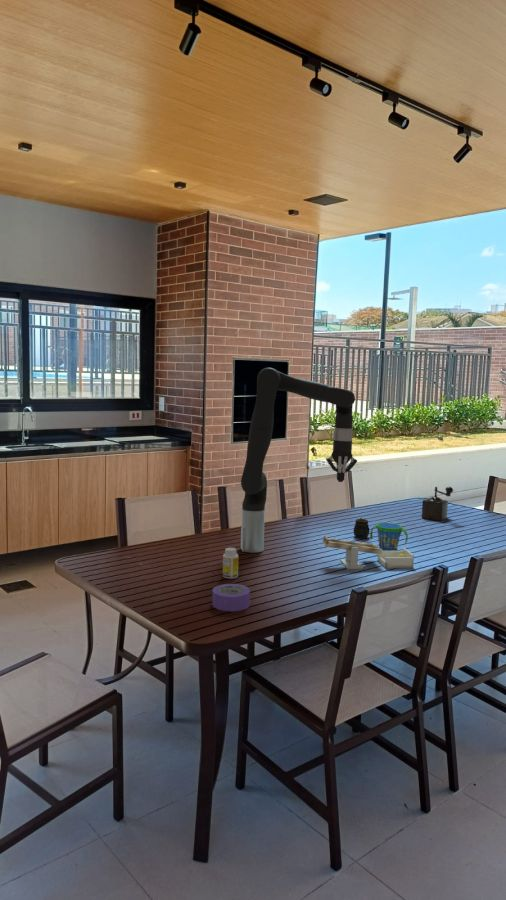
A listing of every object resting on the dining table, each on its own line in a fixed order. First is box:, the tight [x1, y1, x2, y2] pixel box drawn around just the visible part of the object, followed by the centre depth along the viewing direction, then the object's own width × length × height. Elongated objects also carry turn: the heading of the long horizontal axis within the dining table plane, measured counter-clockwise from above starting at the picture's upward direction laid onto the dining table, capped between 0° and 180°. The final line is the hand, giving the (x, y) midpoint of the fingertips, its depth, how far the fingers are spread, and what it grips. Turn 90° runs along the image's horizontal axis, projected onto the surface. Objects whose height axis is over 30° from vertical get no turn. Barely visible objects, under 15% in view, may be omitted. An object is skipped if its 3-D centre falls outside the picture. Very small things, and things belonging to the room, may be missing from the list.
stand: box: [339, 547, 364, 570], centre depth 249 cm, size 6×11×8 cm, turn 6°
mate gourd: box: [353, 517, 371, 539], centre depth 293 cm, size 7×8×10 cm
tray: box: [377, 547, 415, 569], centre depth 252 cm, size 11×10×5 cm
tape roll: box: [212, 583, 251, 612], centre depth 203 cm, size 12×12×5 cm
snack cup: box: [369, 522, 409, 551], centre depth 273 cm, size 16×10×10 cm
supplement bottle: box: [222, 547, 239, 580], centre depth 231 cm, size 6×6×10 cm
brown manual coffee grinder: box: [421, 486, 454, 522], centre depth 335 cm, size 16×11×18 cm
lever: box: [322, 535, 383, 555], centre depth 252 cm, size 22×12×3 cm, turn 96°
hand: (340, 481), depth 261 cm, fingers closed
